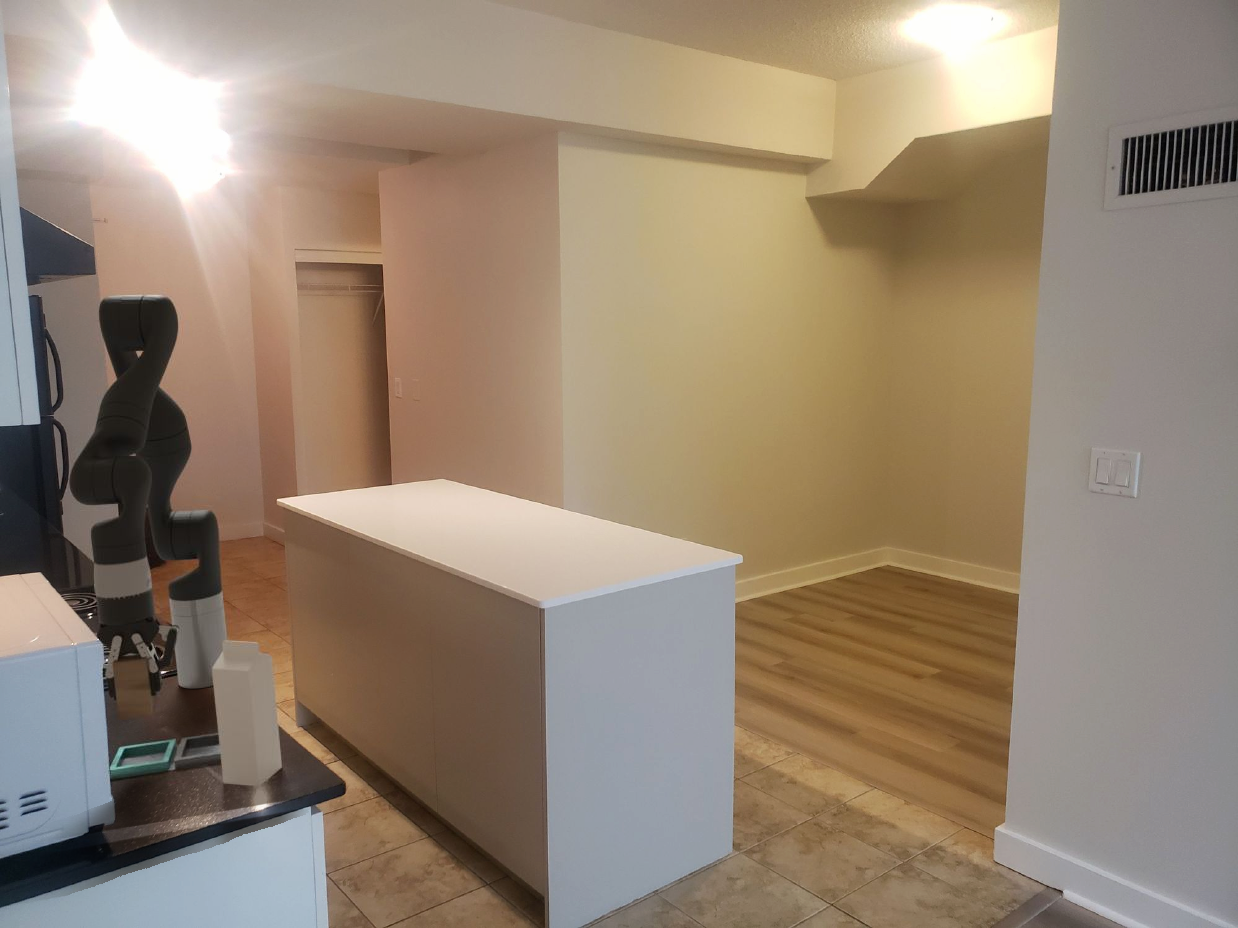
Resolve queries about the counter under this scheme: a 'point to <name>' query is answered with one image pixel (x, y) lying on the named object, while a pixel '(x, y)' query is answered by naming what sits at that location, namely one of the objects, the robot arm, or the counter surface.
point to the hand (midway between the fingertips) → (136, 695)
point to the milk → (246, 714)
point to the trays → (166, 756)
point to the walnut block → (133, 687)
